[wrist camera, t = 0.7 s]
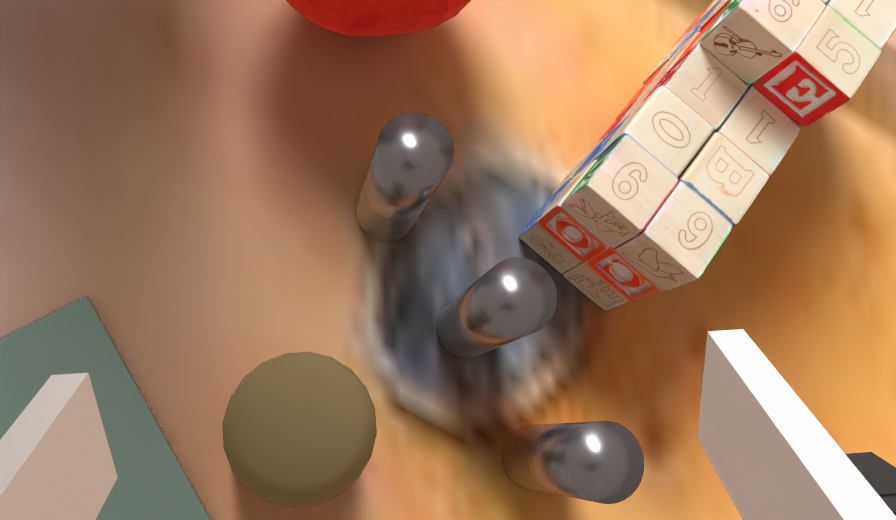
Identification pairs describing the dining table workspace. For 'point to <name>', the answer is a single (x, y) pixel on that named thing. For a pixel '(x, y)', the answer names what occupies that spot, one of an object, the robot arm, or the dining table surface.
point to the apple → (377, 15)
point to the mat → (100, 410)
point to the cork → (299, 429)
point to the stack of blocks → (703, 141)
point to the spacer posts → (495, 320)
